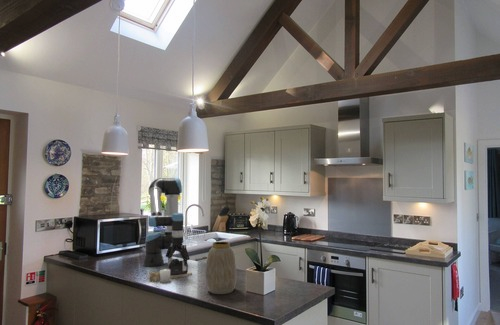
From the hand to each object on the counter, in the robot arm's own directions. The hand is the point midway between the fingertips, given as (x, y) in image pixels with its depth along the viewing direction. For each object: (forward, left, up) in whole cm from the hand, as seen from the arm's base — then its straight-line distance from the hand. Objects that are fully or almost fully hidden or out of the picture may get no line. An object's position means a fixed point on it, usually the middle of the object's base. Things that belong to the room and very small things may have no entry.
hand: (177, 269), depth 240 cm
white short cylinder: (+4, -14, -4) cm, 15 cm away
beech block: (-3, -16, -4) cm, 17 cm away
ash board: (0, 0, -4) cm, 4 cm away
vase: (+45, -9, -4) cm, 46 cm away
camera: (0, 0, -3) cm, 3 cm away
